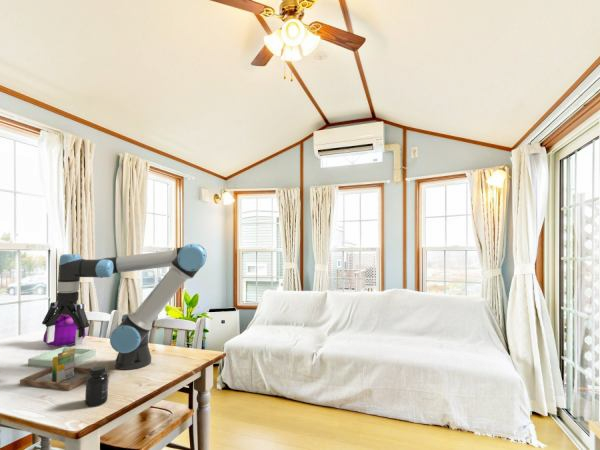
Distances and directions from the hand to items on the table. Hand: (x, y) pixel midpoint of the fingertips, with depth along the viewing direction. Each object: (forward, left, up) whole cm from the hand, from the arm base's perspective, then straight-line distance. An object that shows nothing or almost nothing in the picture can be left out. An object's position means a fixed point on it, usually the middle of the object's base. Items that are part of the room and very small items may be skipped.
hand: (64, 343), depth 137 cm
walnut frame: (0, 0, -14) cm, 14 cm away
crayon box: (0, 0, -15) cm, 15 cm away
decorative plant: (+37, -38, -15) cm, 55 cm away
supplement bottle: (-28, +14, -15) cm, 35 cm away
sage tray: (+18, -18, -14) cm, 29 cm away
